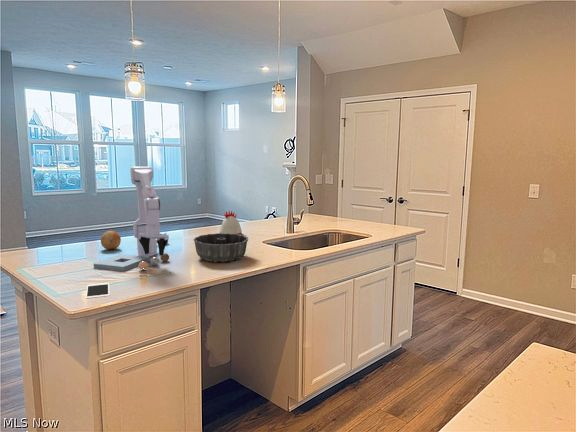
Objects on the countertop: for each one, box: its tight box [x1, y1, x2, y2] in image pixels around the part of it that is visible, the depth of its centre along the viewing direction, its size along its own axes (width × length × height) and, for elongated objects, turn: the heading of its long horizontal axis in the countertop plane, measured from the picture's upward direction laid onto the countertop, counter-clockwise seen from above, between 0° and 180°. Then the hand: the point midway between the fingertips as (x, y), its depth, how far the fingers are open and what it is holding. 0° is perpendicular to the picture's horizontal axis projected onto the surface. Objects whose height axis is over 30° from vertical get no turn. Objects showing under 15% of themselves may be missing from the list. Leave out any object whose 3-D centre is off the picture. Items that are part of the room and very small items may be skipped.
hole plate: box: [93, 253, 151, 272], centre depth 191 cm, size 18×16×2 cm
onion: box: [100, 230, 122, 250], centre depth 220 cm, size 10×10×10 cm
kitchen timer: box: [219, 210, 243, 235], centre depth 263 cm, size 14×14×15 cm
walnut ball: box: [159, 252, 170, 263], centre depth 197 cm, size 4×4×4 cm
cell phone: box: [85, 282, 111, 299], centre depth 156 cm, size 8×16×1 cm, turn 23°
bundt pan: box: [193, 232, 249, 263], centre depth 204 cm, size 26×26×10 cm
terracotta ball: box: [137, 261, 149, 271], centre depth 182 cm, size 4×4×4 cm
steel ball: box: [149, 256, 160, 267], centre depth 189 cm, size 4×4×4 cm
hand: (154, 254), depth 189 cm, fingers open, 7 cm apart
